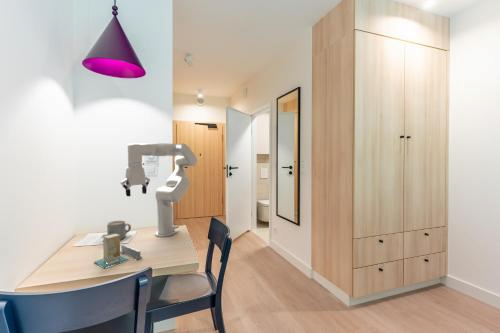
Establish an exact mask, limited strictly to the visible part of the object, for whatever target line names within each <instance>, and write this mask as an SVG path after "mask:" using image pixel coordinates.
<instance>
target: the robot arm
mask: <svg viewBox="0 0 500 333" xmlns="http://www.w3.org/2000/svg"><path fill="white" fill-rule="evenodd" d="M151 156H153V157H174V166H175V167H174V168H175V169H174V171H173V173H172V174H171V175H170V176H169V177H168V179H167V180H166V183H165V185H166V186H161V187H158V188H157V189H156V191H155V200H156V203H157V204H156V206H157V209H156V211H157V231H156V232H155V234H154V235H155V236H156V237H158V238H159V237H160V238H164V237H165V238H166V237H171V236H173V235H175V234H176V229H178V228H179V225H178V224H177V225H174V224H173V223H174V222H173V221H174V219H173V218H174V214H173V212H174V211H173V204H172V203H178V202H179V201H181V199H182V198H183V196H184V195H185V194H186V192H187V191H188V189H189V187H190V179H189V178H188V176H186V175H187V172H186V169H185V167H194V166H196V165H197V163H198V162H197V161H198V160H197V156H196V154H195V152H193V150H192V149H191V148H190V146H188V145H187V144H186V143H168V142H167V143H164V142H163V143H162V142H161V143H129V144H127V167H126V169H125V177H124V178H125V179H122V181H120V184H121V186H122V188H123V189H125V195H126V197H131V195H132V194H131V187H132V186H140V185H141V192H142V194H144V195H146V194H147V188H148V186H149V184H150V181H151V178H149V177H147V176H146V172H145V168H144V166H145V162H143V157H151Z"/></svg>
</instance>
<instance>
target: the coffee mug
mask: <svg viewBox="0 0 500 333" xmlns="http://www.w3.org/2000/svg"><path fill="white" fill-rule="evenodd" d="M106 225H107V229H106V230H107V236H108V235H112V234H118V235H120V239H122V238H124V237H125V238H126V234H127V233H129V232H130V231H131V229H132V226H131V224H130V223H129V222H128V223H126V221H125V220H114V221H110V222H107V224H106ZM127 226H128V228H127V229H126V227H127ZM125 238H124V239H125ZM122 240H123V239H122Z"/></svg>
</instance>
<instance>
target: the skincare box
mask: <svg viewBox="0 0 500 333" xmlns="http://www.w3.org/2000/svg"><path fill="white" fill-rule="evenodd" d="M102 244H103V250H102V251H103V258H104V261H105V262H108V263H109V262H112V261H115V260H117V259H120V256H121V253H120V251H121V240H120V235H118V234H112V235H108V234H107V235H105V236H103V243H102Z"/></svg>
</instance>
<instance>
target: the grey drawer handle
mask: <svg viewBox="0 0 500 333" xmlns="http://www.w3.org/2000/svg"><path fill="white" fill-rule="evenodd" d="M120 249H121V250H120V254H121V253H126V254H125V255H127V254H128V256H129V255H130V256H129V257H131V256H132V258H133V260H135V259H136V260H135V261H137V259H138V260H141V259H142V258H143V256H142V255H141V250H140V249H139V250H138V249H137V248H133V247H131V246H129V245H126V244H122V245H121V244H120Z"/></svg>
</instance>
